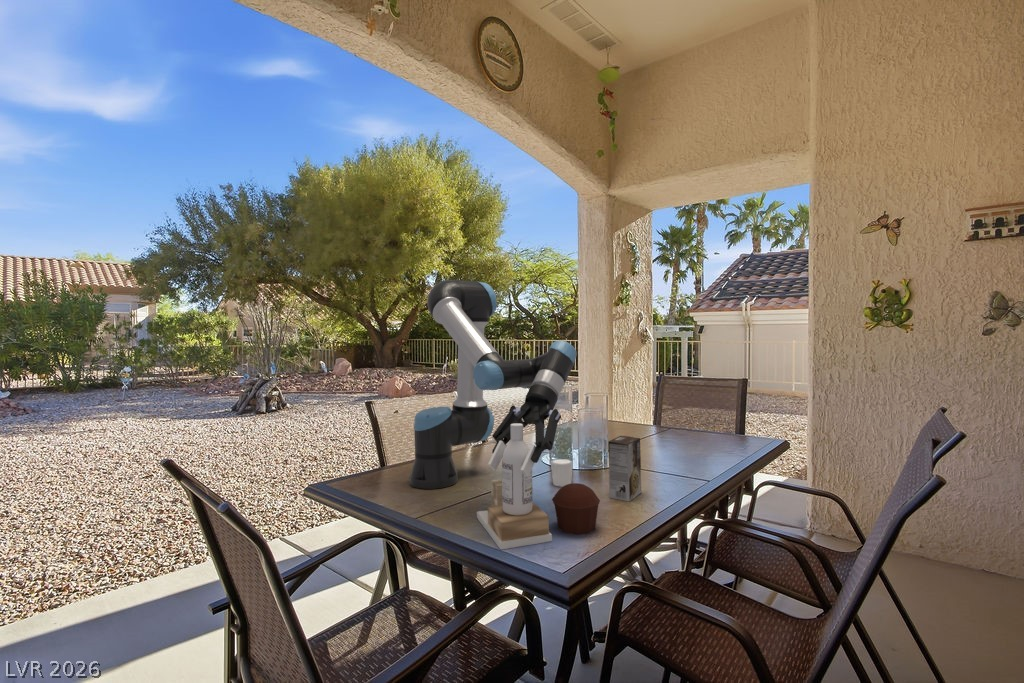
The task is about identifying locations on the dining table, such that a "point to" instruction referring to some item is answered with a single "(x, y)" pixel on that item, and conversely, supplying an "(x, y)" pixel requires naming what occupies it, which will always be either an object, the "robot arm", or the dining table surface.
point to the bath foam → (516, 475)
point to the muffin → (576, 509)
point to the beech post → (496, 492)
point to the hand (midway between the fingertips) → (507, 470)
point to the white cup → (561, 472)
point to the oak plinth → (517, 523)
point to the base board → (483, 519)
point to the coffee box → (624, 468)
